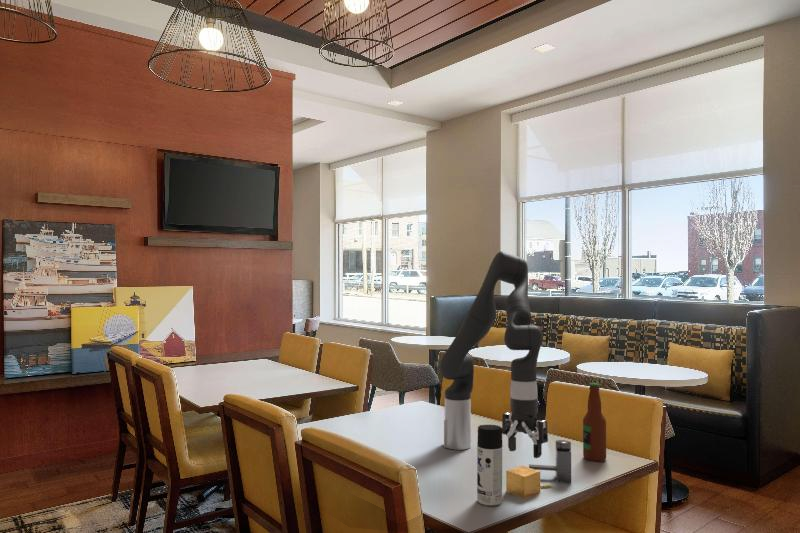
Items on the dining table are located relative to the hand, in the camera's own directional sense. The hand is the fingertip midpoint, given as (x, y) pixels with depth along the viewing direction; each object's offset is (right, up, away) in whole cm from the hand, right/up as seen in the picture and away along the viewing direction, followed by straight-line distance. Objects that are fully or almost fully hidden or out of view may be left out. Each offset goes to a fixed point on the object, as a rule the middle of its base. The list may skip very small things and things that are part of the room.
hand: (524, 454), depth 162 cm
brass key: (+6, -11, +4) cm, 13 cm away
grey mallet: (+10, -11, +11) cm, 18 cm away
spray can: (-11, -11, -7) cm, 17 cm away
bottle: (+30, -11, +30) cm, 44 cm away
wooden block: (0, -11, 0) cm, 11 cm away
